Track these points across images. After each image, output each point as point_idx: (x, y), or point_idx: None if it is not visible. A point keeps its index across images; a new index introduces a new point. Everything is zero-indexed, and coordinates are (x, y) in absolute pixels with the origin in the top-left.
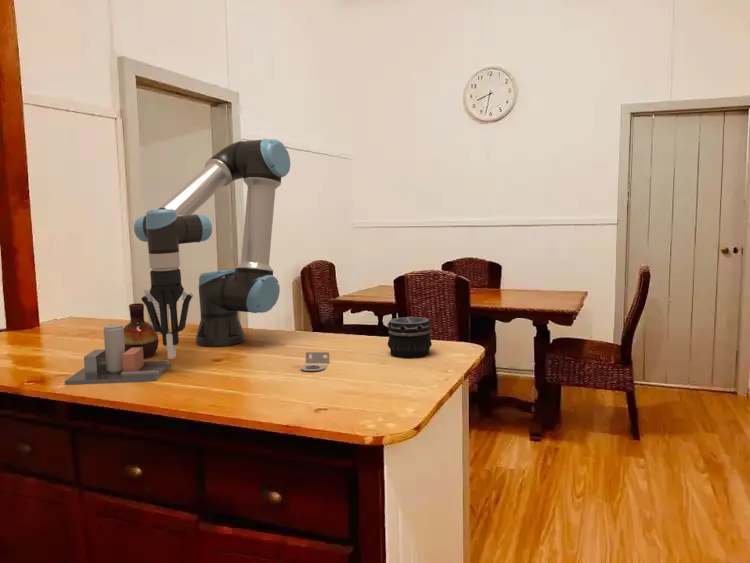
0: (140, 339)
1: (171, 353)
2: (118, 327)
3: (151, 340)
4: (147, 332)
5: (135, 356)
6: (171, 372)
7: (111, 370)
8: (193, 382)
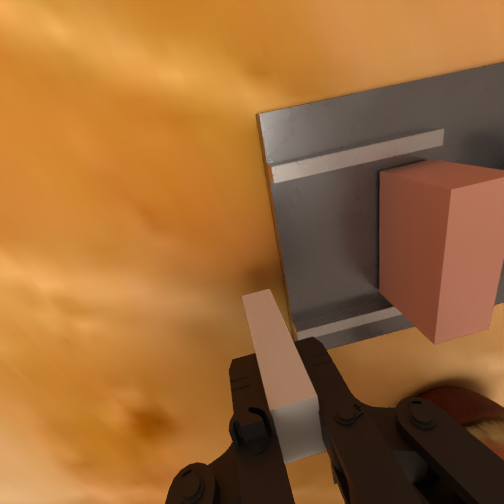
0: None
1: (255, 308)
2: None
3: None
4: None
5: (433, 209)
6: (248, 262)
7: None
8: (34, 97)
